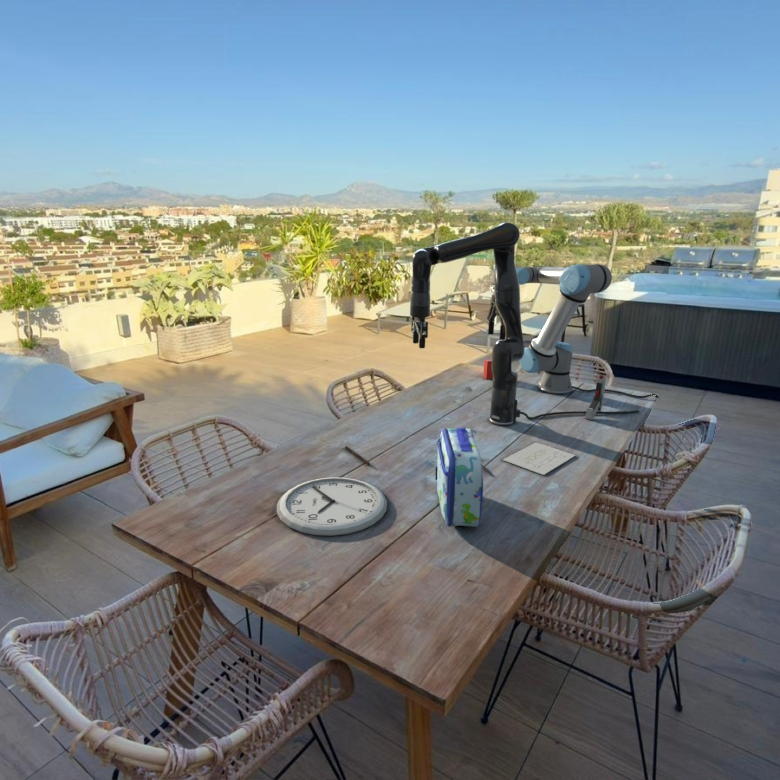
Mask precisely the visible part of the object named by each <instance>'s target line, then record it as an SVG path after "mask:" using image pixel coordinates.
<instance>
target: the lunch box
mask: <svg viewBox="0 0 780 780" xmlns="http://www.w3.org/2000/svg"><path fill="white" fill-rule="evenodd" d="M436 444H437V458H436V459H437V464H436V465H437V466H436V467H435V480H434V481H436V483H437V484H436V490H437V491H436V492H437V495H438V501H439V507H440V512H441V516H442V518H443V520H444V523H445V525H447V527H449V528H450V527H457V526H461V527H473V528H478V527H479V526H480V524H481V522H482V514H483V501H484V500H483V499H484V473H483V472H484V470H482V466H483V464H482V460H481V459H482V458H481V454H480V451H479V449H478V445H477V443H476V440H475V437H474V433H473V430H472V429H471V428H466V427H455V428H447V427H446V428H445V427H444V428H441V432H440V436H439V438H438V439H437V442H436Z"/></svg>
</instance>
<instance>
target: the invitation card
mask: <svg viewBox="0 0 780 780" xmlns="http://www.w3.org/2000/svg"><path fill="white" fill-rule="evenodd" d="M576 456H577V455H576V454H573V453H570V452H567V451H565V450H561V449H558V448H555V447H552V446H549V445H546V444H543V443H539V442H534V443H532V444H529V445H528V446H526V447H524V448H522V449H520V450H518V451H516V452H514V453H512V454H510V455H509V456H507V457H505V458H503V459H502V461H503V462H506V463H509V464H511V465H514V466H518V467H520V468H523V469H525V470H528V471H531V472H534V473H536V474H539V475H541V476H545V475H547V474H548V473H550V472H552V471H554V469H556V468H558V467H559V466H561V465H563V464H564V463H566V462H568V461H570V460H571V459H572V458H574V457H576Z"/></svg>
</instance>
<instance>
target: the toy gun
mask: <svg viewBox="0 0 780 780" xmlns="http://www.w3.org/2000/svg"><path fill="white" fill-rule="evenodd" d="M595 389H596V391H594V392H595V393H594V396H593V398H592V401H591V402H590V404H589V406H588V407H586V410H585V411H586V413H585V419H586V420H589V421H592V420H593V419H594V417H595V415H597V414H596V412H602V409H603V408H602V407H603V402H604V399H605V392H606V391H605V389H606V375H605V374H599V375H598V377H597V381H596V383H595Z"/></svg>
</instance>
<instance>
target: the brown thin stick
mask: <svg viewBox="0 0 780 780" xmlns="http://www.w3.org/2000/svg"><path fill="white" fill-rule="evenodd" d="M344 449H345V450H346V451H348V452H349V453H350V454H352V455H353V456H355V457H356V458H358V459H359V460H361V461H362V462H363V463H364V464H366V465H370V461H368V460H367V459H366V458H364V457H363V456H361V455H360V454H358V453H357V452H356V451H354V450H353V449H352V448H350V447H348V446H347V445H345V446H344Z"/></svg>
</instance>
